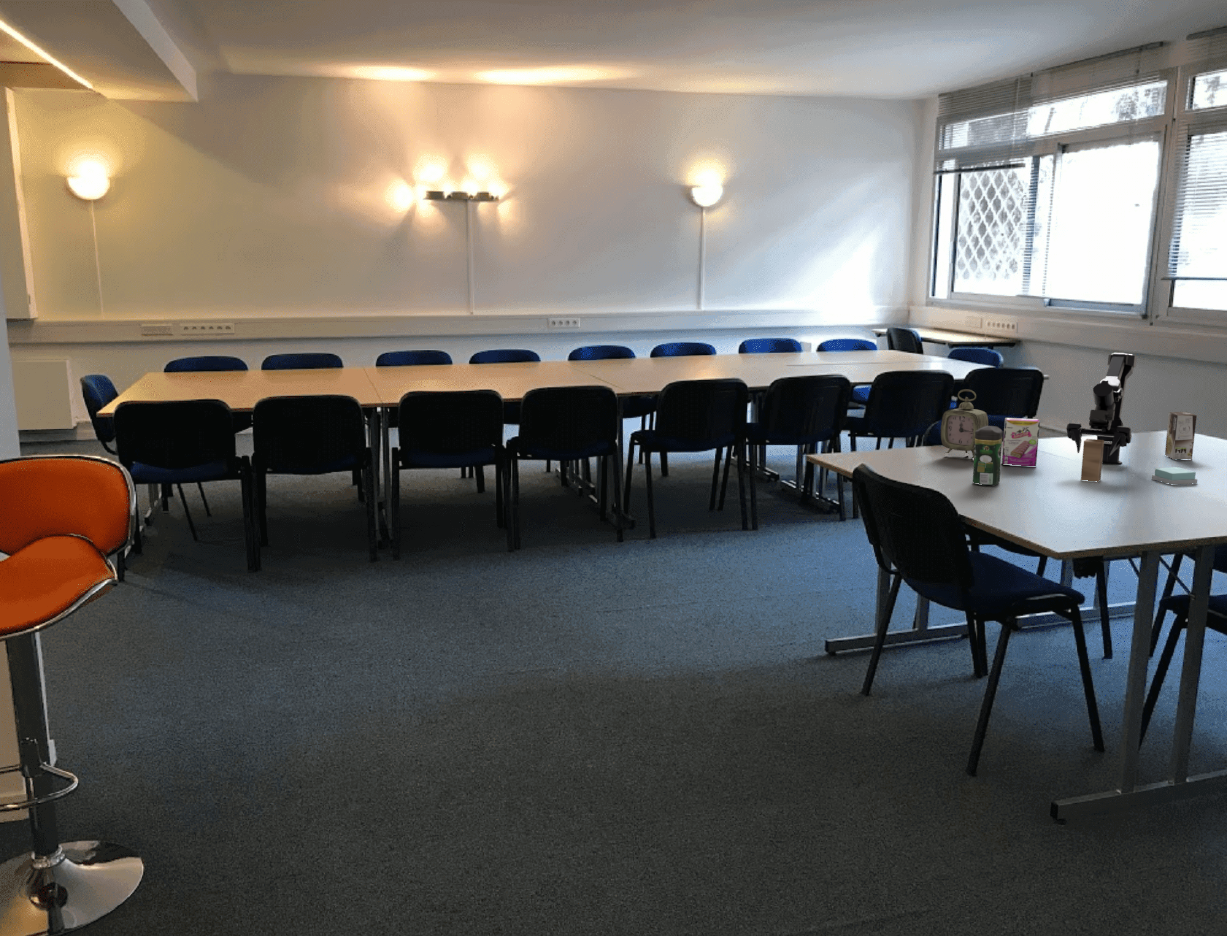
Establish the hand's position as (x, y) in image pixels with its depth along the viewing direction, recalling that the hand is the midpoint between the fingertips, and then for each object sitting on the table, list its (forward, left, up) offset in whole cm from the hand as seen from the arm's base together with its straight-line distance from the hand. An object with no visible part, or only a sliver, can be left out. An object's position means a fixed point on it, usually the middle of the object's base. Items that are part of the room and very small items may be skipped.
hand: (1093, 453), depth 314 cm
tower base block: (+1, +25, -9) cm, 26 cm away
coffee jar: (+9, -34, -9) cm, 37 cm away
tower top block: (+1, +25, -7) cm, 26 cm away
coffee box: (-39, +41, -9) cm, 57 cm away
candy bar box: (-21, -17, -9) cm, 29 cm away
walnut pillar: (+1, 0, -9) cm, 9 cm away
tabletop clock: (-34, -33, -9) cm, 49 cm away
